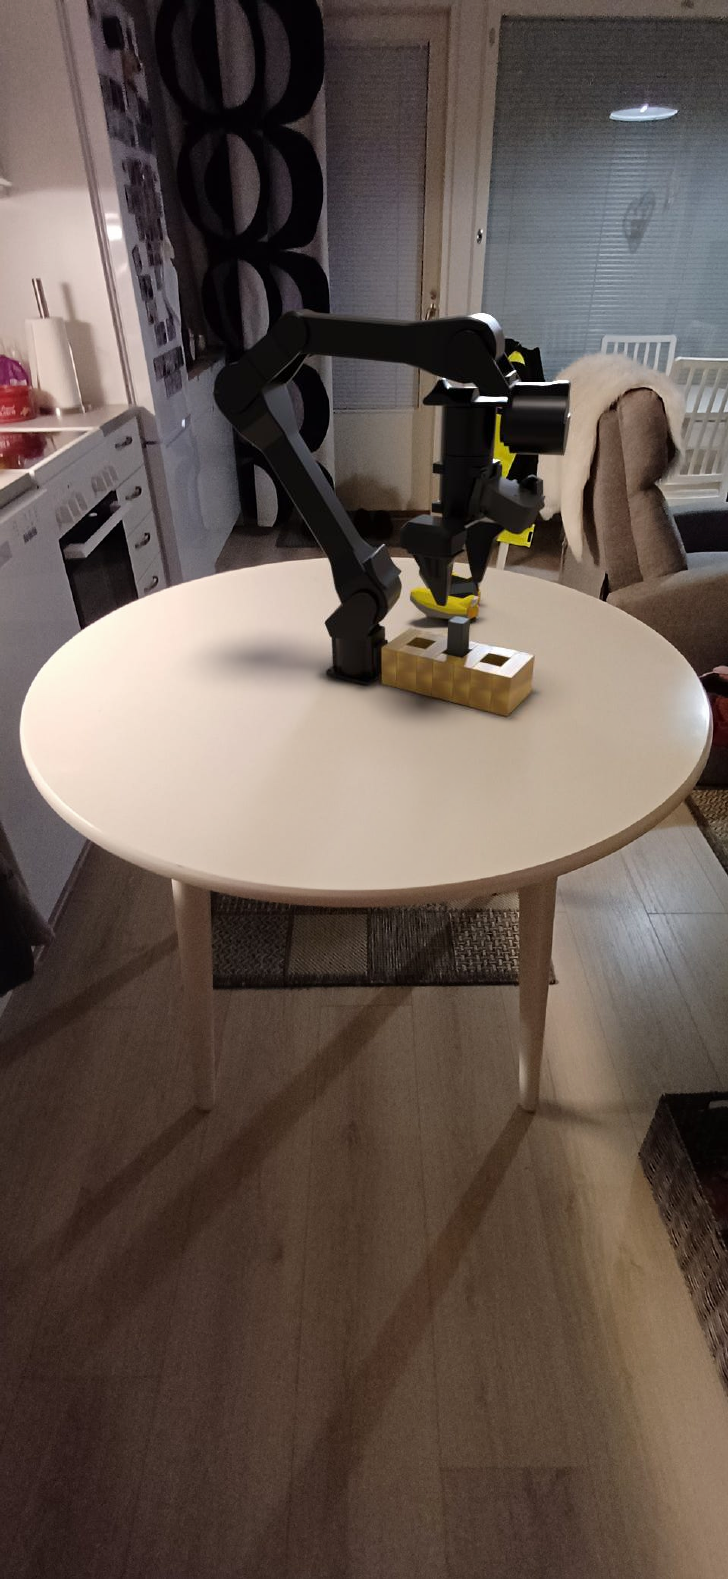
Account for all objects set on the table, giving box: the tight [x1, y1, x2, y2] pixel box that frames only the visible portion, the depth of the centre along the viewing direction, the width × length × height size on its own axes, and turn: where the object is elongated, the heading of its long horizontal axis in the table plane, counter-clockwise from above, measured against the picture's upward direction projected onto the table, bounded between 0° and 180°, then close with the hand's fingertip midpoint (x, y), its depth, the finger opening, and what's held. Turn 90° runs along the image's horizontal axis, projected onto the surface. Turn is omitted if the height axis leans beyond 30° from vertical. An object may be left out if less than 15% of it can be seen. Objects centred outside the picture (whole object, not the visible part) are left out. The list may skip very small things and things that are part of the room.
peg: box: [446, 616, 471, 658], centre depth 94 cm, size 2×2×9 cm
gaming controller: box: [409, 567, 482, 621], centre depth 117 cm, size 15×6×10 cm
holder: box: [381, 627, 536, 717], centre depth 95 cm, size 17×7×5 cm, turn 58°
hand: (460, 593), depth 91 cm, fingers open, 9 cm apart
